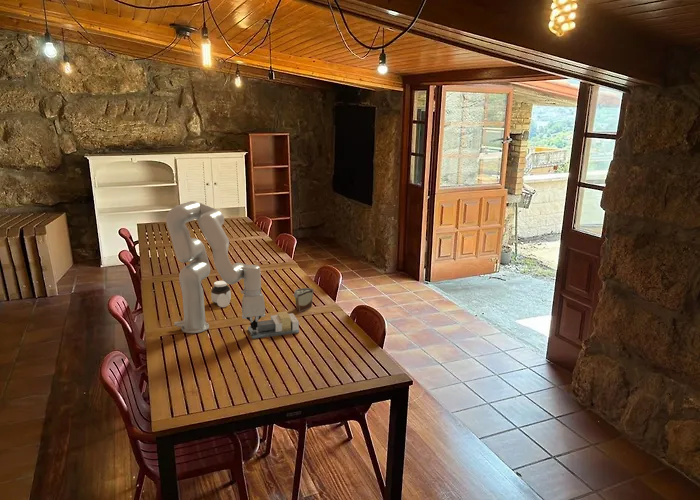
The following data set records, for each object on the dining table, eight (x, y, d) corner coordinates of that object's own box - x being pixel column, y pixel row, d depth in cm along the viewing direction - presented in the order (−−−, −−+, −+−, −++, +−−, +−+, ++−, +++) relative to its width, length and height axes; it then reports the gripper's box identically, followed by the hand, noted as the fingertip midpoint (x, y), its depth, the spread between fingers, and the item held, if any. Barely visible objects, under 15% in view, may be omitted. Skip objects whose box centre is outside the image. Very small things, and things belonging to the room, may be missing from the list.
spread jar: (223, 298, 276) (222, 279, 273) (238, 302, 271) (237, 282, 268) (206, 305, 266) (205, 284, 263) (222, 309, 261) (221, 288, 258)
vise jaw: (260, 334, 227) (260, 326, 226) (256, 325, 237) (256, 317, 236) (282, 331, 230) (282, 323, 229) (277, 322, 240) (276, 314, 239)
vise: (252, 339, 226) (251, 327, 225) (248, 329, 236) (247, 318, 235) (298, 332, 234) (298, 321, 232) (293, 323, 244) (293, 313, 242)
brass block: (281, 330, 232) (281, 318, 230) (277, 324, 239) (277, 312, 238) (290, 329, 233) (290, 317, 232) (286, 323, 241) (286, 311, 239)
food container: (305, 303, 271) (305, 286, 268) (313, 306, 267) (313, 288, 265) (289, 309, 262) (288, 291, 259) (297, 312, 258) (297, 294, 255)
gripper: (237, 296, 220) (239, 334, 225) (270, 292, 225) (271, 330, 230) (235, 290, 227) (236, 328, 232) (267, 287, 232) (268, 324, 237)
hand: (254, 329), depth 231 cm, fingers closed
